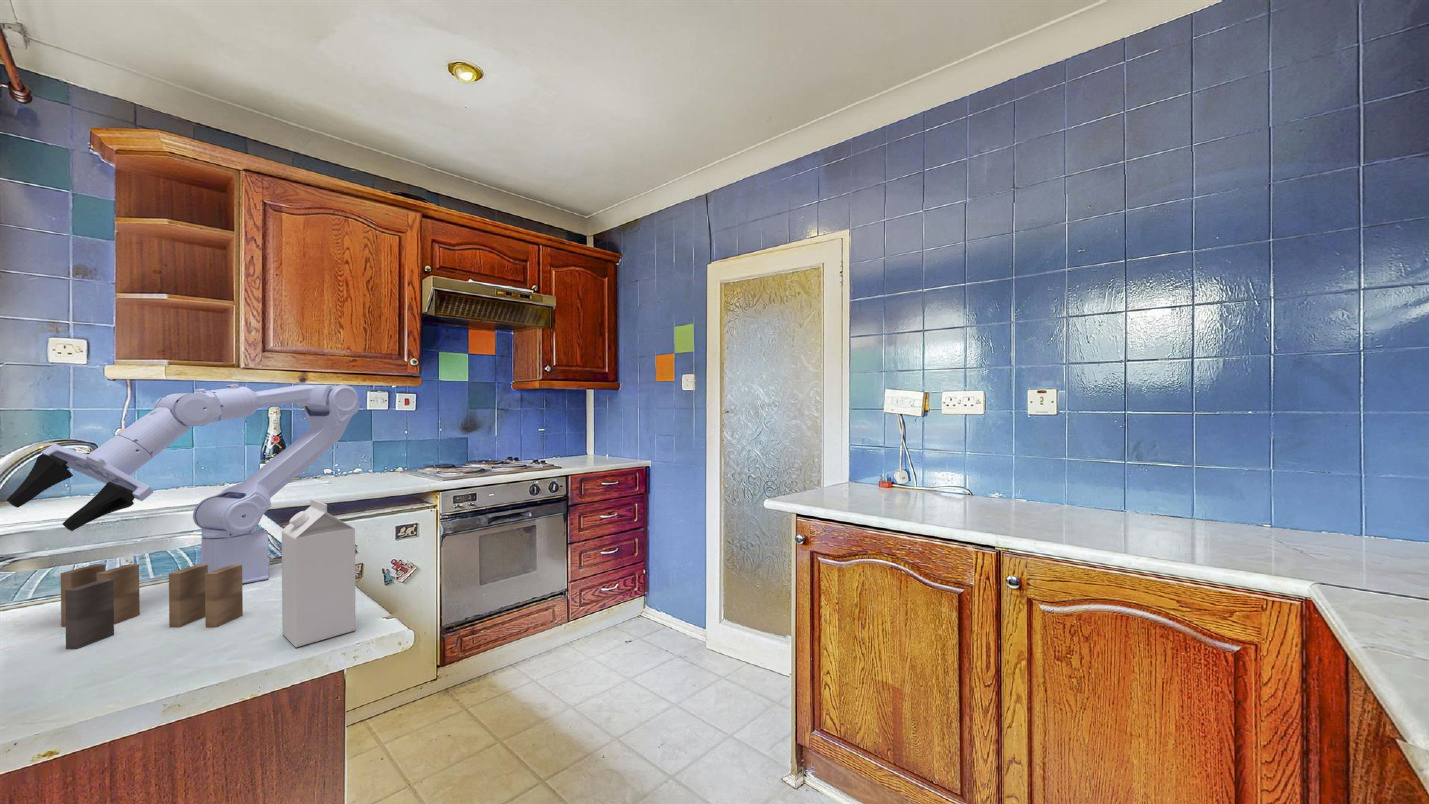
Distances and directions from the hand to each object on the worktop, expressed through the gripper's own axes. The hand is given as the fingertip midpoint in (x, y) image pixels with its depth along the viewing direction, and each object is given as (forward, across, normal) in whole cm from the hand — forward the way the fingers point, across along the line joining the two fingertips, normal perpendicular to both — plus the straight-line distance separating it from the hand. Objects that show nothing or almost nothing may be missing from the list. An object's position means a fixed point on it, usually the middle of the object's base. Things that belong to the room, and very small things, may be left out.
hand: (39, 515), depth 79 cm
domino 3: (+4, +24, +4) cm, 25 cm away
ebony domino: (+11, +17, +2) cm, 20 cm away
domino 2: (+7, +15, +9) cm, 19 cm away
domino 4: (+3, +29, +2) cm, 29 cm away
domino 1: (+8, +10, +12) cm, 18 cm away
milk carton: (+1, +44, -9) cm, 45 cm away
